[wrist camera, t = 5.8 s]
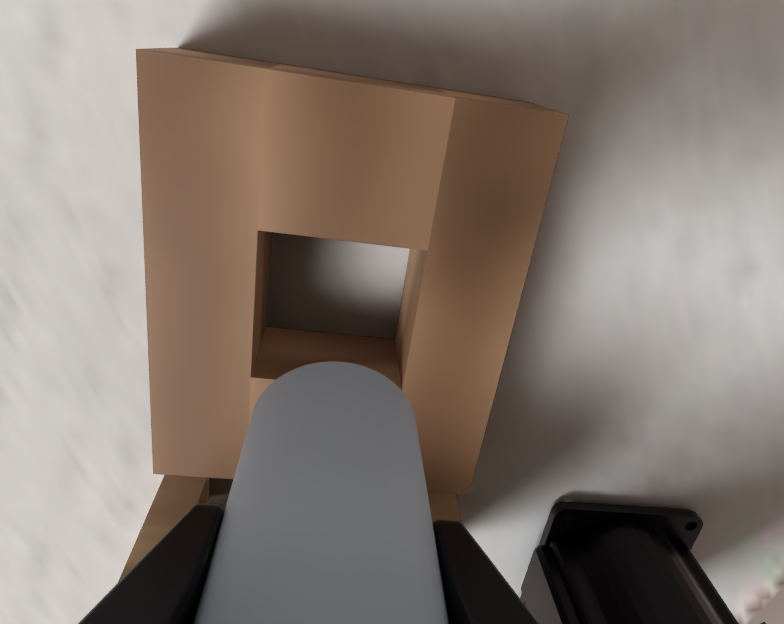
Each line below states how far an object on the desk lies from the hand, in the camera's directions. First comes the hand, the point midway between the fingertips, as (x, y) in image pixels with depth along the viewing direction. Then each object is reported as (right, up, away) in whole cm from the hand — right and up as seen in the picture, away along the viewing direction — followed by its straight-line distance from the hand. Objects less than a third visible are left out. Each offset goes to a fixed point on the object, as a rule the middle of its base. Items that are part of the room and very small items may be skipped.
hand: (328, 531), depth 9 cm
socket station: (-1, +2, +11) cm, 11 cm away
